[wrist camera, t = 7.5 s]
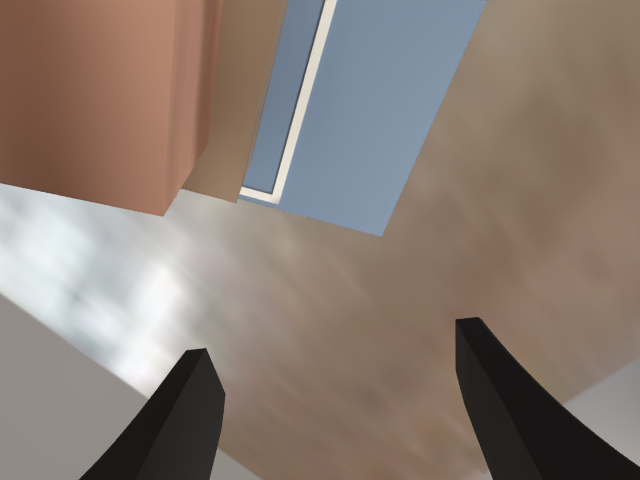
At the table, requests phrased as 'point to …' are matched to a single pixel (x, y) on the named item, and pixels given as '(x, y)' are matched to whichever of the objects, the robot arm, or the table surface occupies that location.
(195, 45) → the terracotta cube
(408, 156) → the board
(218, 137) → the walnut slab
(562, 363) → the table surface
